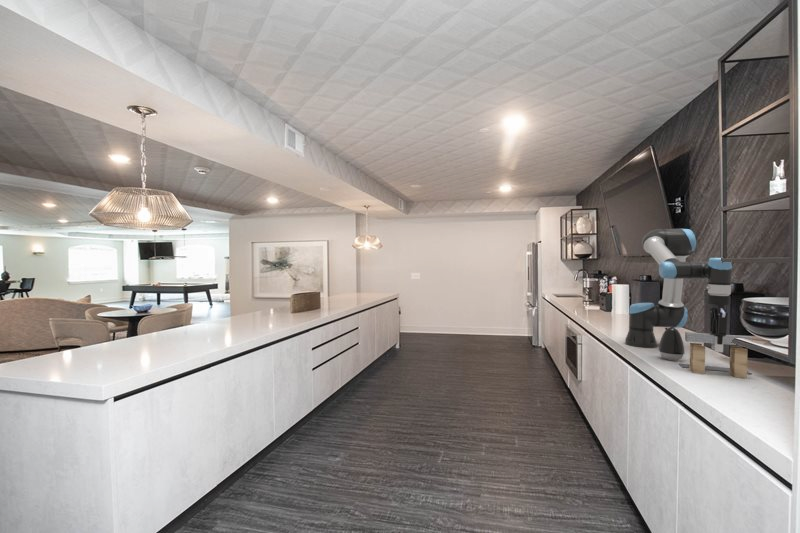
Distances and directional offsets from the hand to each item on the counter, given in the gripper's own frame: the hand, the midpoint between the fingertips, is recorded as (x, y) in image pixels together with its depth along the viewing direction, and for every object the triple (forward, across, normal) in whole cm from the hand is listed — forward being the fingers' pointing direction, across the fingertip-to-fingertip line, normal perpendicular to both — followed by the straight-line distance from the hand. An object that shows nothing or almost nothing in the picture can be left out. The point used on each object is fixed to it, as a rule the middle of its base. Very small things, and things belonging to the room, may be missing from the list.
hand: (717, 350), depth 168 cm
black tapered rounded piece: (+10, -20, -12) cm, 26 cm away
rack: (+9, 0, 0) cm, 9 cm away
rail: (-3, 0, 0) cm, 3 cm away
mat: (+10, -8, +1) cm, 12 cm away
